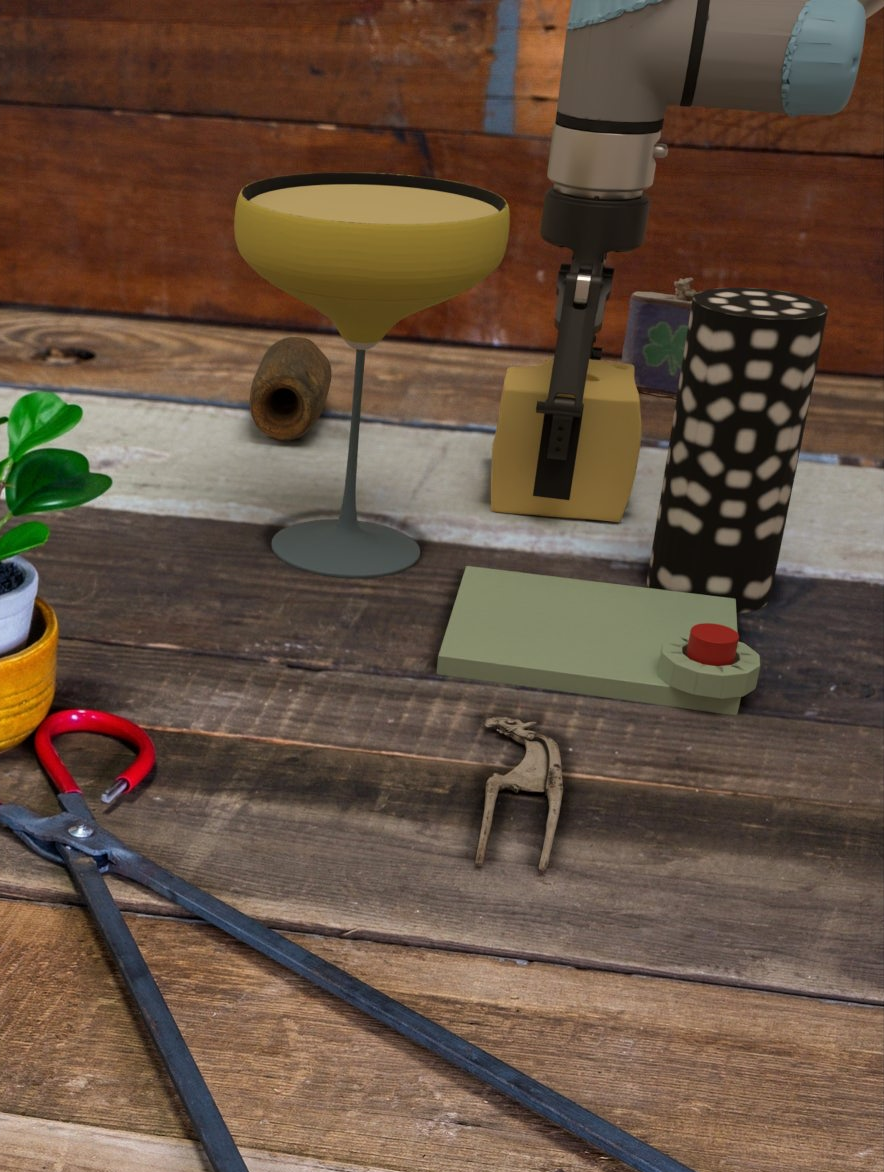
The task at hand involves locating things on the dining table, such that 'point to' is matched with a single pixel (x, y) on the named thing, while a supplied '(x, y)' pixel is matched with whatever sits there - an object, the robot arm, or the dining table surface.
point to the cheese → (601, 444)
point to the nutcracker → (526, 780)
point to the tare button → (712, 644)
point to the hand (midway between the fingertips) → (557, 468)
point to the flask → (658, 338)
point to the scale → (592, 640)
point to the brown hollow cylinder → (290, 388)
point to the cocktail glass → (365, 301)
